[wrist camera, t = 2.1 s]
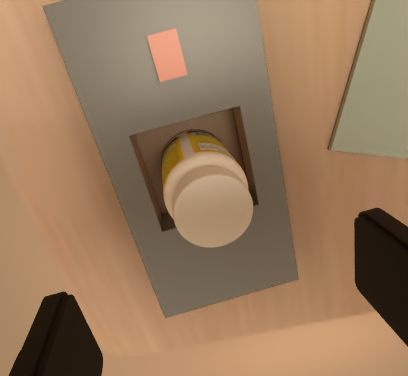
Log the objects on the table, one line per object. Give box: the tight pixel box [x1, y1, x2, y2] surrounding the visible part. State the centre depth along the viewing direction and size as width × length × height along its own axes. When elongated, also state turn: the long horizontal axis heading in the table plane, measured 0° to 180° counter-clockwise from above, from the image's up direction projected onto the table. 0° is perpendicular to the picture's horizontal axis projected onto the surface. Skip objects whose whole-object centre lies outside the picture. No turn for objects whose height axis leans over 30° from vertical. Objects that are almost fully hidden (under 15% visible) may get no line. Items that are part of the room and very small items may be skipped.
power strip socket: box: [42, 0, 299, 318], centre depth 22 cm, size 22×11×3 cm, turn 14°
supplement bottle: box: [161, 130, 253, 248], centre depth 19 cm, size 5×5×8 cm
